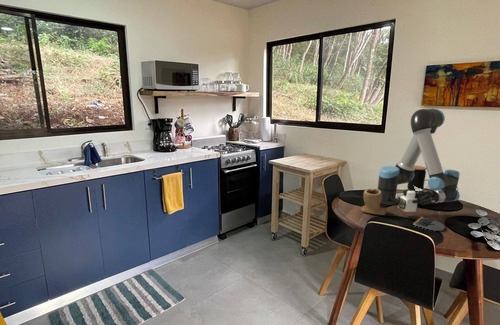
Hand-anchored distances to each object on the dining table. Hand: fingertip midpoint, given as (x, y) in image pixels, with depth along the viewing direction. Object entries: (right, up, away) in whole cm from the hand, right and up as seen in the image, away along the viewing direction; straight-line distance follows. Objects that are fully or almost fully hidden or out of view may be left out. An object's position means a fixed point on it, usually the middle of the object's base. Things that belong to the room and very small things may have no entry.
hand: (401, 198), depth 167 cm
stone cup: (-12, -10, +9) cm, 18 cm away
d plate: (+12, -14, -8) cm, 20 cm away
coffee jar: (+39, 0, +54) cm, 66 cm away
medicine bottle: (+4, -7, +3) cm, 9 cm away
